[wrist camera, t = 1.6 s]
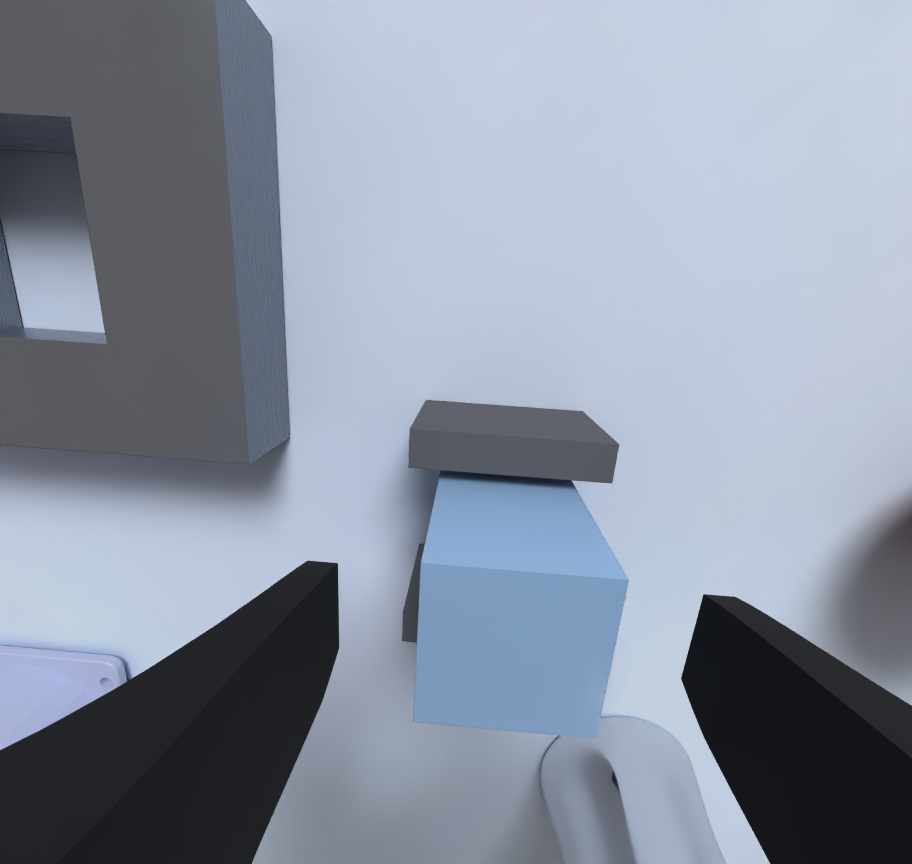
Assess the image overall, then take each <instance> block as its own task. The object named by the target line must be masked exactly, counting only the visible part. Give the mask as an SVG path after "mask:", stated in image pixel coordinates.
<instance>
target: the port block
mask: <svg viewBox="0 0 912 864" xmlns="http://www.w3.org/2000/svg"><path fill="white" fill-rule="evenodd" d="M0 149H6V150H22V151H39V152H56V153H73V154H76V155H77V161H78V167H79V174H80V180H81V186H82V192H83V199H84V205H85V211H86V217H87V223H88V230H89V236H90V242H91V248H92V255H93V261H94V267H95V273H96V279H97V286H98V292H99V298H100V304H101V311H102V317H103V323H104V329H105V333H92V332H78V331H63V330H49V329H35V328H23V327H22V322H21V318H20V313H19V308H18V303H17V299H16V294H15V289H14V285H13V280H12V275H11V270H10V266H9V261H8V256H7V252H6V247H5V242H4V238H3V233H2V228H1V223H0V445H6V446H19V447H32V448H45V449H58V450H71V451H84V452H97V453H110V454H123V455H136V456H149V457H162V458H175V459H188V460H201V461H214V462H227V463H240V464H251V463H252V462H254V461H255V460H257V459H258V458H260V457H261V456H263V455H264V454H266V453H267V452H269V451H270V450H272V449H273V448H275V447H276V446H278V445H279V444H281V443H282V442H284V441H285V440H287V439H288V438H290V431H289V409H288V387H287V365H286V343H285V322H284V300H283V278H282V256H281V235H280V213H279V191H278V169H277V147H276V126H275V104H274V82H273V60H272V39H271V35H270V33H269V32H268V31H267V29H266V28H265V26H264V25H263V24H262V22H261V21H260V20H259V18H258V17H257V16H256V14H255V13H254V11H253V10H252V9H251V7H250V6H249V5H248V3H247V2H246V0H0Z"/></svg>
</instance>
